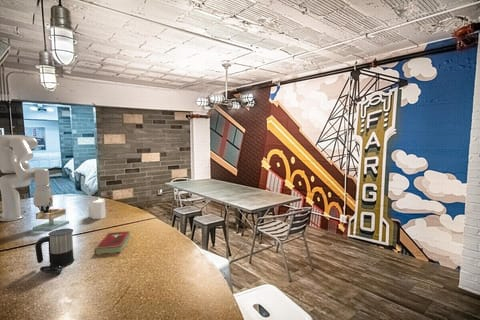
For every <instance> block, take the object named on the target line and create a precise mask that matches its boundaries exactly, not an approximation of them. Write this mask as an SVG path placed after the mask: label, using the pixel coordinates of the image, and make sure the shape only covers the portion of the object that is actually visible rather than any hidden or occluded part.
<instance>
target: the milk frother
mask: <svg viewBox="0 0 480 320" xmlns="http://www.w3.org/2000/svg"><path fill="white" fill-rule="evenodd" d="M73 231H74V229H73V228H59V229H54V230H52V231H50V232H48V235H47V236H43V237H41V238H38V240H37V241H36V243H35V246H34V248H35V255H36V262H37V263H39V264H42V263H43V261H44V254H43V249H42V248H43V246H42V244H43V243H48V259H49V260H48V261H49V265H45V266H44V265H43V266H41V267H40V268H39V271H40V272H42V273H45V274H48V275H54V274H55V275H57V274H60V273H61V272H62V271H63V269H62V267H59V266H64V267H66V266H65V265H67V264H69V263H71V262H73V261H74V262H75V258H74V243H73V242H74V241H73V240H74V239H73ZM74 262H73V263H74ZM71 264H72V263H71ZM69 265H70V264H69ZM67 266H68V265H67Z"/></svg>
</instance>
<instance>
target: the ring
mask: <svg viewBox="0 0 480 320" xmlns="http://www.w3.org/2000/svg"><path fill="white" fill-rule="evenodd" d="M48 212H49V213H43V211H42V212H40V211H39V212H36V213H35V220H49V219H57V218H59V217H60V218H61V217H62V216H65V215H66V214H67V213H66V212H67V211H66V208H49V209H48Z"/></svg>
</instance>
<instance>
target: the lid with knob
mask: <svg viewBox="0 0 480 320" xmlns="http://www.w3.org/2000/svg"><path fill="white" fill-rule="evenodd" d="M54 219H55V218H54ZM54 219H48V221H47V222H44V223H41V224H39V225H36V226H33V227H32V230H33V231H47V232H48V231H50V232H52V231H54V230H58V228H59V229H60V228H62V227H63V226H66V225H68V224H70V221H69V220H54Z"/></svg>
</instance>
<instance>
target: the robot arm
mask: <svg viewBox="0 0 480 320" xmlns="http://www.w3.org/2000/svg"><path fill="white" fill-rule="evenodd" d="M37 148H38V140H37V139H36V138H35V137H32V136H29V135H25V134H24V135H23V134H0V172H2V173H4V174H6V175H2V176H0V195H1V207H2V212H1V213H0V221H1V222H12V221H19V220H21V219H23V218H24V217H25V215H24V214H22V210H21V208H22V207H21V196H20V192H19V191H18V190H17V189H16V188H22V187H28V186H29V185H30V184H31V181H34V191H33V196H32V197H33V200H32V201H33V202H32V204H33V206H34V207H35V208H38V210H39V212H42V211H43V213H49V212H48V209H51V207H54V204H53V203H54V198H53V197H54V196H53V193H52V189H51V185H50V184H51V183H50V171H49V169H48V168H43V167H32V168H31V167H30V164H29V162H28V161H30V160H32V158H33V157H34V152H33V151H32V150H35V149H37ZM10 173H11V174H10ZM13 173H14V174H13Z"/></svg>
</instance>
